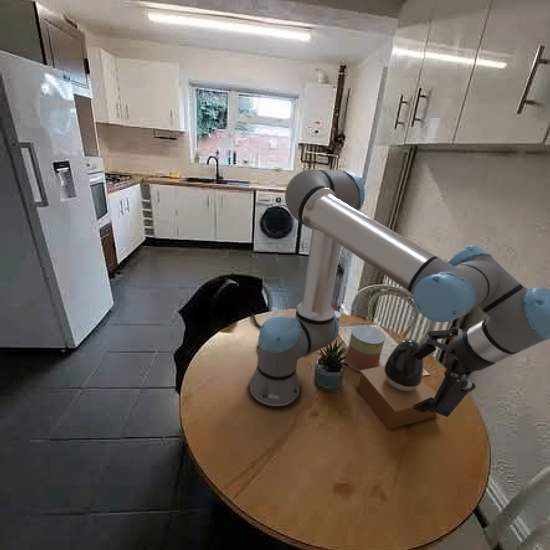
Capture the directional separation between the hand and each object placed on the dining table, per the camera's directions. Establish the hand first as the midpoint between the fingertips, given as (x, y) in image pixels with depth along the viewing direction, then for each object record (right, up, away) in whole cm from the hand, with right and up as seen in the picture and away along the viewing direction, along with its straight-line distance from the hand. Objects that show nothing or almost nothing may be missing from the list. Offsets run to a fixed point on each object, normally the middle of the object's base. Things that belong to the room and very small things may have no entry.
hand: (416, 381), depth 77 cm
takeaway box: (+1, -12, +17) cm, 21 cm away
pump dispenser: (+2, -6, +15) cm, 16 cm away
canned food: (-4, -5, +34) cm, 35 cm away
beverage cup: (-12, +2, +51) cm, 53 cm away
